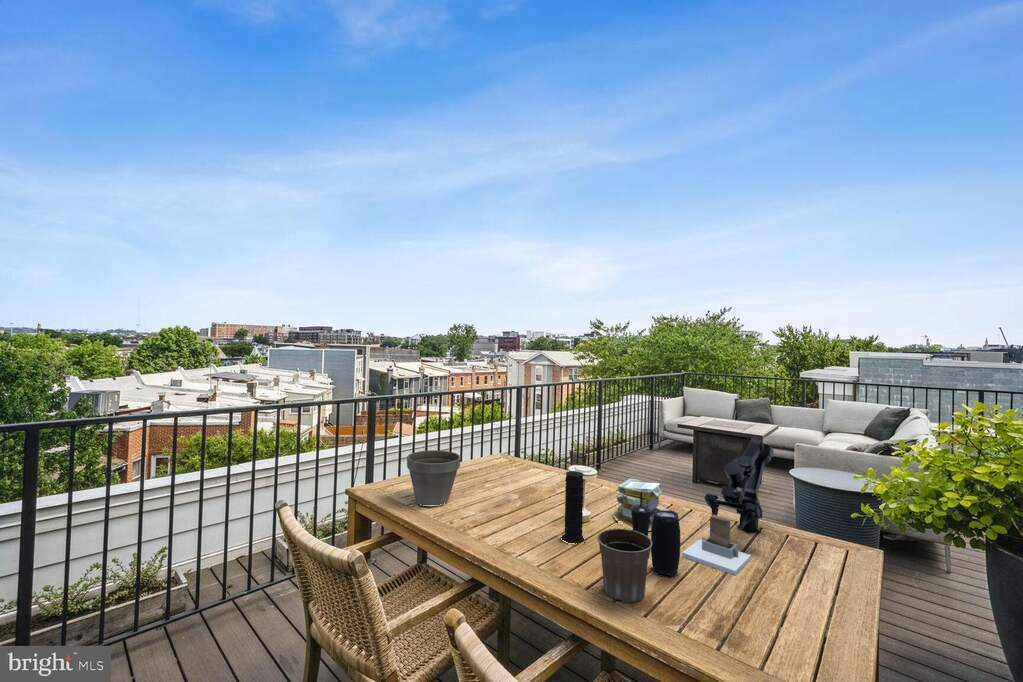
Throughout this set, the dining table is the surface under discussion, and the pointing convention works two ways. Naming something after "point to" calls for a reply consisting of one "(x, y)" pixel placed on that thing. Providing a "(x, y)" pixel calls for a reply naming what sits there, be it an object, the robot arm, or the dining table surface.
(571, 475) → the handle grip
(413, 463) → the plant pot
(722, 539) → the wooden rectangular pillar
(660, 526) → the portable speaker
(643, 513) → the drinking cup
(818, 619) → the dining table surface
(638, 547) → the plant pot
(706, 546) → the white base with frame
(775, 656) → the dining table surface
